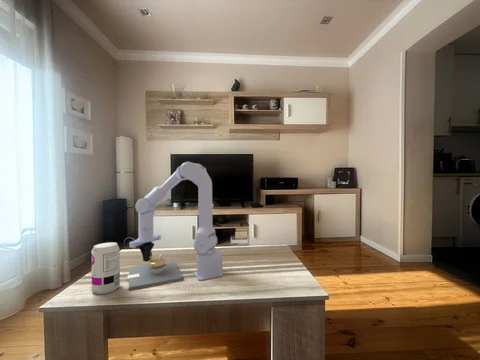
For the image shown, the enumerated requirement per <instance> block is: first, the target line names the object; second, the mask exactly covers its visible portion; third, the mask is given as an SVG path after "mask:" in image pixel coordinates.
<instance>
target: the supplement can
mask: <svg viewBox="0 0 480 360" xmlns="http://www.w3.org/2000/svg"><path fill="white" fill-rule="evenodd" d="M120 254H121V253H120V247H119V245H118V242H113V241H110V242H109V241H107V242H102V243H98V244H95V245H93V248H92V249H91V292H92V293H94V294H95V295H105V294H109V293H112V292H114V291H116V290H117V289H118V288H119V287H120V284H121V283H120V282H121V280H120V277H121V275H120V273H121V270H120V267H121V266H120V262H121V261H120V258H121V257H120V256H121V255H120Z"/></svg>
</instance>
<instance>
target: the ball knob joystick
mask: <svg viewBox="0 0 480 360" xmlns="http://www.w3.org/2000/svg"><path fill="white" fill-rule="evenodd" d="M165 262H166V259H165V258H162V259H159V258H156V257H155V256H153V251H151V252H150V256H149V261H148V264H149V267H150V268H160V267H163V266H165V265H166V263H165Z"/></svg>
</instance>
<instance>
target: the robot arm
mask: <svg viewBox="0 0 480 360" xmlns="http://www.w3.org/2000/svg"><path fill="white" fill-rule="evenodd" d="M186 180H189V181H191V182H192V183H193V184H195V185H196V186H197V188H198V190H197V192H198V193H197V194H198V198H197V199H198V200H197V201H198V202H197V203H198V229H197V231H196V234H195V240H194V241H193V242H194V243H193V249H194V250H195V252H196V271H194V272H193V274H194V276H195V277H196V279H197V280H198V281H204V280H209V279H215V278H218V277H219V278H221V277H223V276H224V274H223V254H222V252H221V251H220V250H216V246H217V244H218V237H217V235H216V229H215V228H214V226H213V182H212V181H213V180H212V178H211V177H210V176H209V173H208V172H207V168H206V167H205V166H203V165H202V164H200V163H197V162H196V163H195V162H191V161H185V162H183V163H182V164H181V165H179V166H178V167H177V168H176V170H175V171H174V172H173V174H172V175H170V177H169V178H168V179H167V180H165V182H163V184H162V185H160V186H159V185H158V186H154V187H152V188H151V191H150V192H149V193H148V194H146V195H145V196H144V197H143V198H139V199H137V201H136V203H135V206H134V208H135V210H136V212H137V213H138V238H137V239H134V240H132V241H129V243H128V245H129V247H128V248H131V249H134V248H136V247H137V248H138V249H139V250H140V253H141V255H142V260H143V262H150V261H149V256H150V252H152V250H153V248H154V246H155V243H154V242H155V241H160V240H162V238H161V234H154V215H155V210H156V209H157V206H158V205H159V204H160V203H161V202H163V201H164V200H165V199H166V198H168V192H169V191H171V190H172V189H173V188H174V187H175V186H177V185H178V184H179V183H181V182H182V181H186Z"/></svg>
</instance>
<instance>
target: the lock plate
mask: <svg viewBox="0 0 480 360" xmlns="http://www.w3.org/2000/svg"><path fill="white" fill-rule="evenodd" d="M158 257H159V258H158V259H163V254H159V256H158ZM165 263H166V265H165V266H163V267H160V268H150V267H149V263H148V264H142V265H135V266H134V265H133V266H130V267H128V275H127V279H128V291H133V290H138V289H144V288H149V287H155V286H161V285H164V284H165V285H166V284H170V283H174V282H175V283H177V282H181V281H184V277H183V275H182V273H181V271H180V269H179V267H178V265H177V264H176V262H175V260H170V261H169V260H168V261H165Z"/></svg>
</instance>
